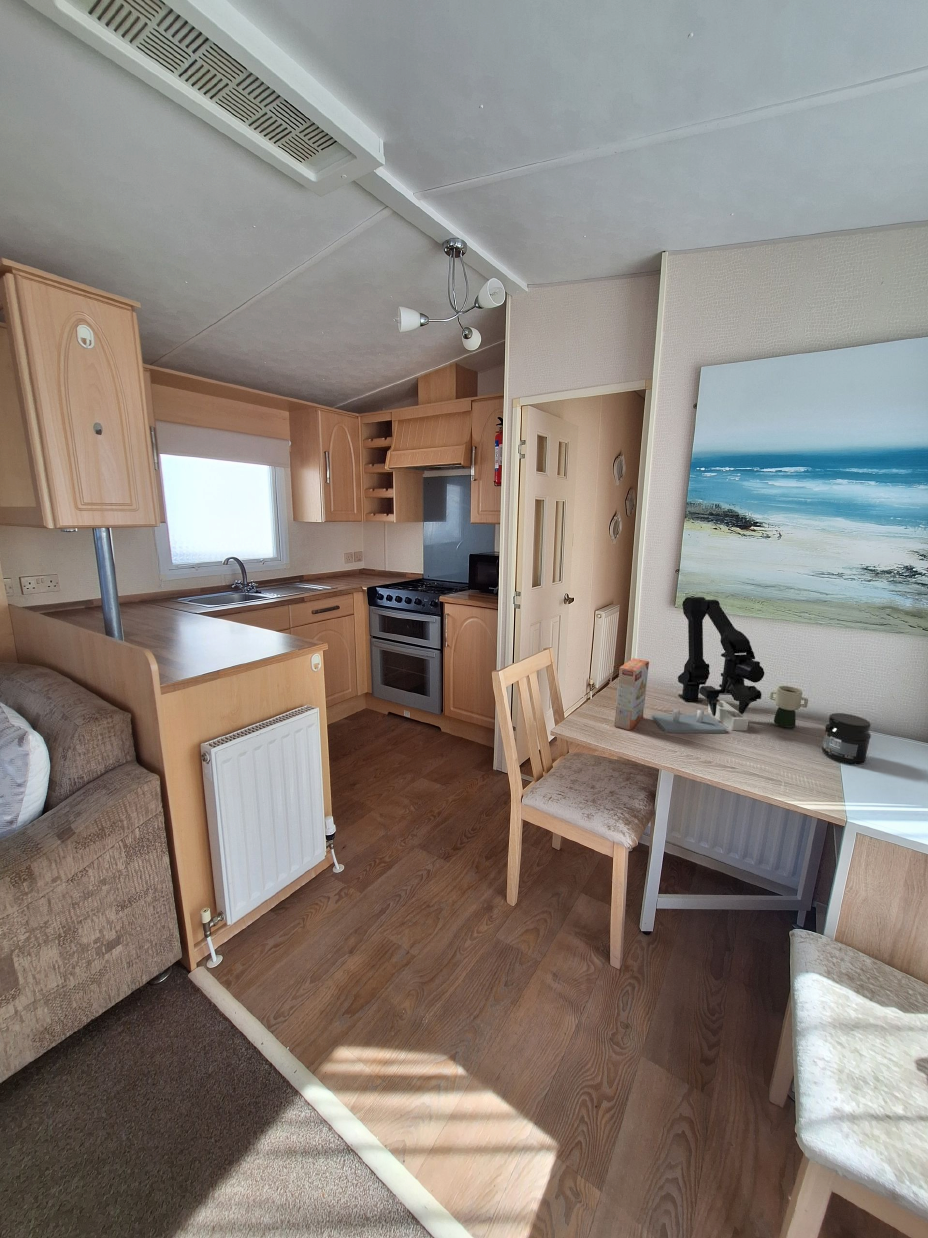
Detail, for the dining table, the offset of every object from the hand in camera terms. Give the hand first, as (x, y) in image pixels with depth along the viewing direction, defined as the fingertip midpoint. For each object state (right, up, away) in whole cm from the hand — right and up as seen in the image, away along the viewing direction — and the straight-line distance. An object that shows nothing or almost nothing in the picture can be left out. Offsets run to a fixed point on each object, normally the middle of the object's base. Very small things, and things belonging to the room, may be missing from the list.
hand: (727, 715), depth 169 cm
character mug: (+18, -3, -3) cm, 18 cm away
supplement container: (+21, -7, -25) cm, 33 cm away
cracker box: (-34, -2, -2) cm, 35 cm away
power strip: (0, -2, 0) cm, 2 cm away
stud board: (-15, -2, -4) cm, 16 cm away
